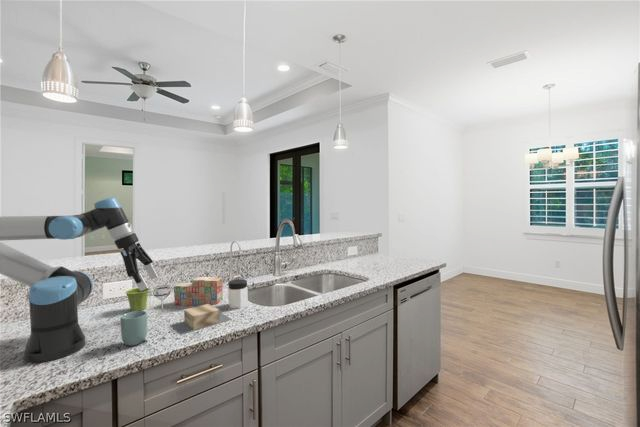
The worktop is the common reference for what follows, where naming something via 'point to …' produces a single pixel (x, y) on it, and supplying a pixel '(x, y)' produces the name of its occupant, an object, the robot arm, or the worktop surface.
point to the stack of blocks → (199, 291)
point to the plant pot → (137, 299)
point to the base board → (184, 328)
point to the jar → (238, 293)
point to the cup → (133, 327)
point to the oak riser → (201, 316)
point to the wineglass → (161, 294)
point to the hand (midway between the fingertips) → (149, 283)
